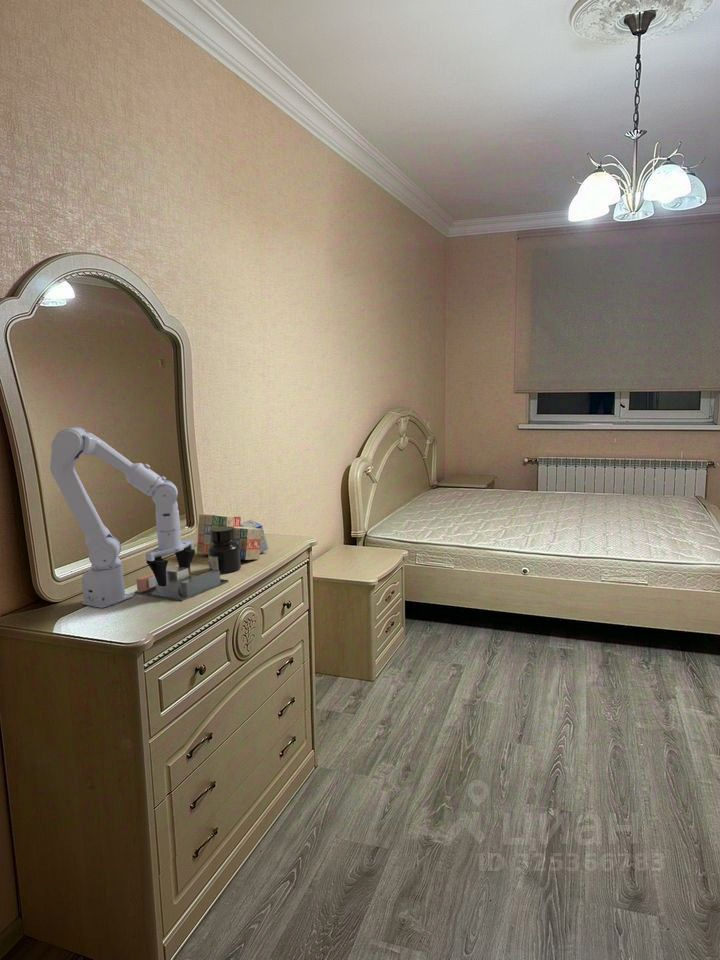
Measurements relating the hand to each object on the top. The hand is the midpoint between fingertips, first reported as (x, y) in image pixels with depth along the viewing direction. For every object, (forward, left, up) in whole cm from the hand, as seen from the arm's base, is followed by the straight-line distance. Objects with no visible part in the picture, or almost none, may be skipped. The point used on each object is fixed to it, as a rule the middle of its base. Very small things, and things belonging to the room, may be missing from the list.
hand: (173, 581), depth 171 cm
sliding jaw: (+5, +8, -2) cm, 9 cm away
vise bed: (+4, +2, -3) cm, 6 cm away
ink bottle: (+22, +3, -3) cm, 23 cm away
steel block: (0, 0, -3) cm, 3 cm away
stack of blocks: (+33, +11, -3) cm, 35 cm away
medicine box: (+42, +7, -2) cm, 43 cm away
